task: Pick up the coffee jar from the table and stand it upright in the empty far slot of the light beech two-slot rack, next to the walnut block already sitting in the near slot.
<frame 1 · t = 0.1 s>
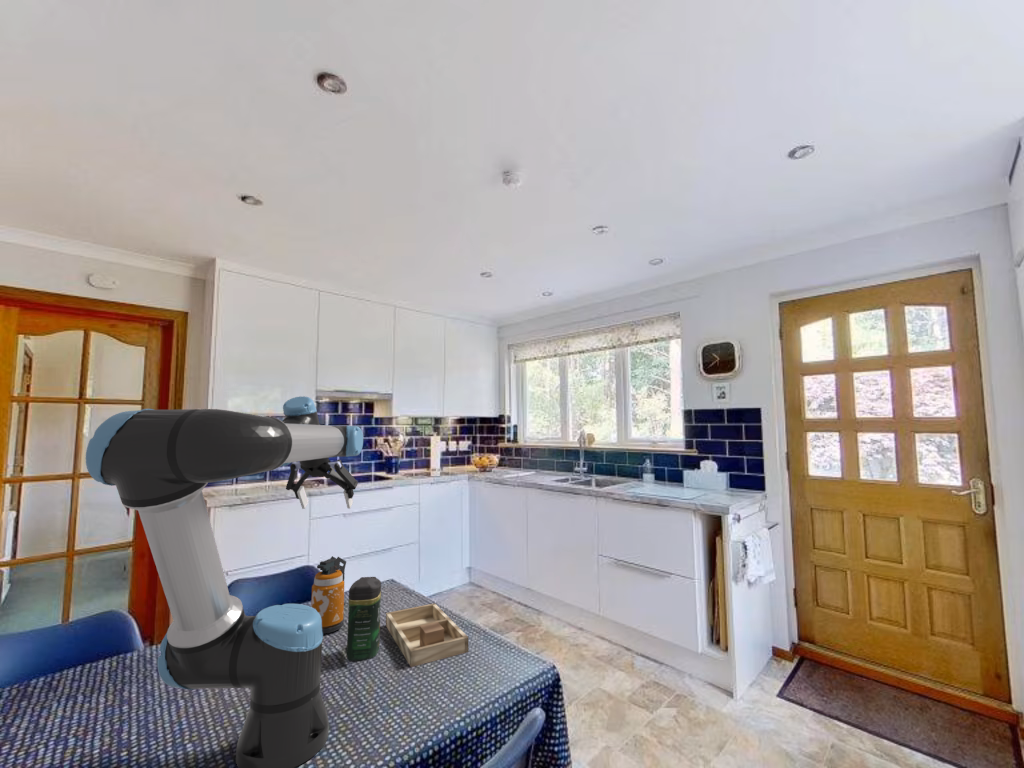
hand: (328, 505, 133), 36 cm above the table, tool tilted 35°, fingers open, 13 cm apart
canister: (329, 628, 131), on the table
slot rack: (424, 640, 122), on the table
walnut block: (431, 647, 116), point 1 cm above the table, touching slot rack
coffee jar: (363, 655, 114), on the table
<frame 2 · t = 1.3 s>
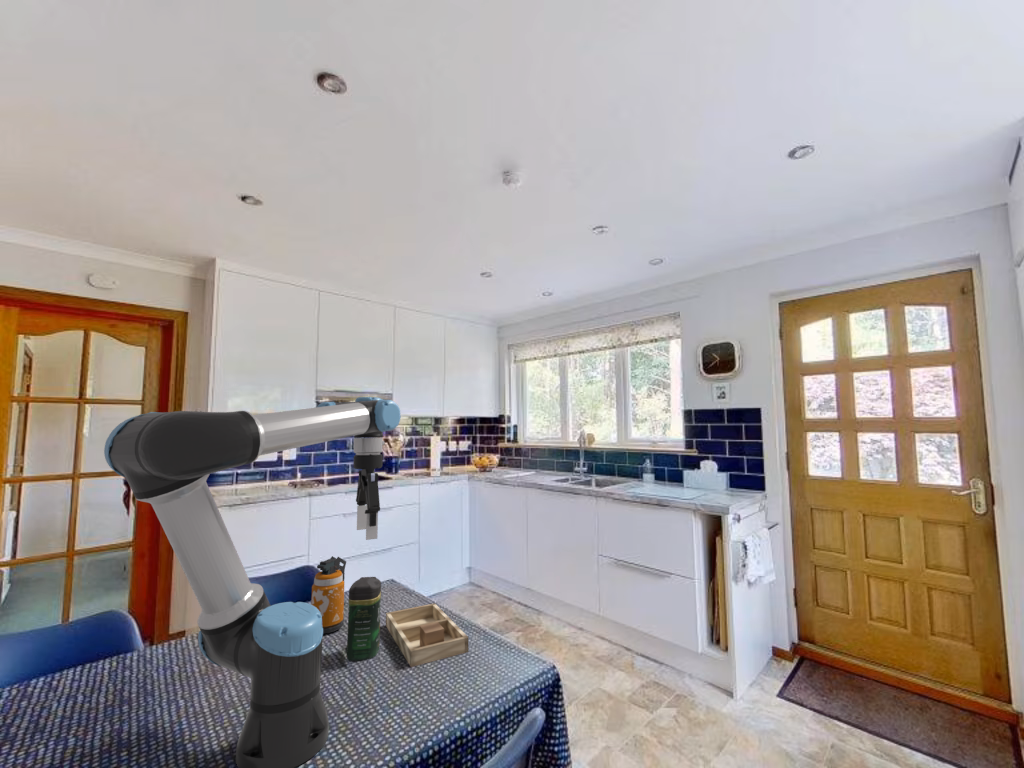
hand: (366, 534, 118), 30 cm above the table, tool pointing down, fingers open, 13 cm apart
nothing on the table moved.
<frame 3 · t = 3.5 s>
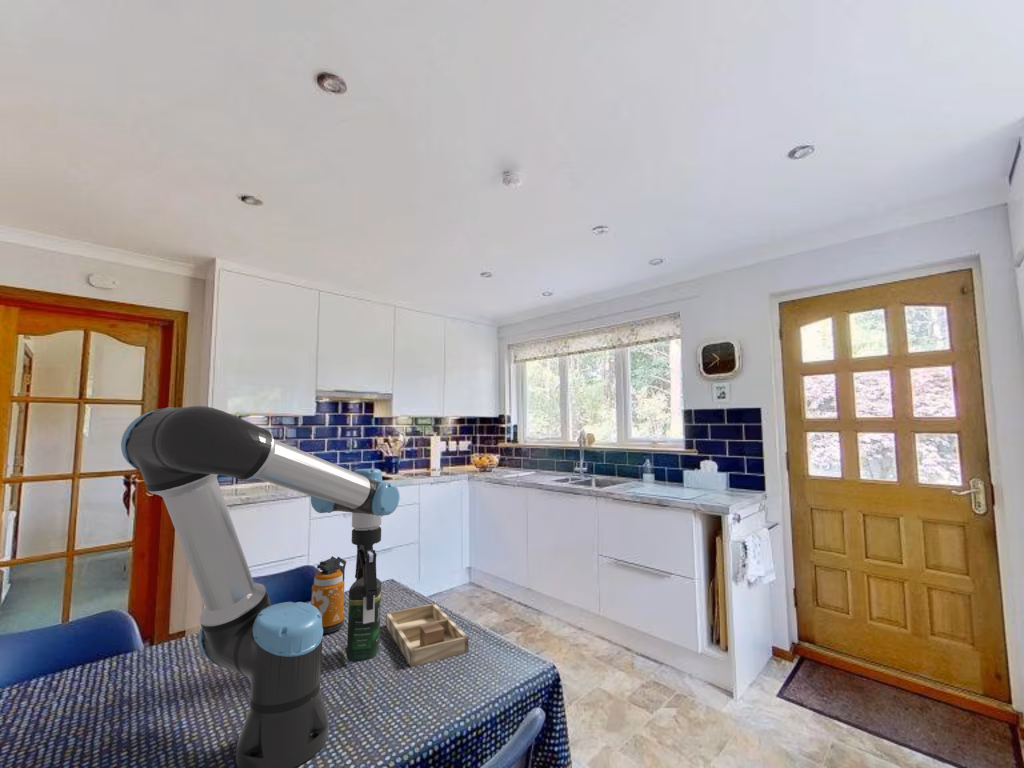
hand: (364, 614, 116), 10 cm above the table, tool pointing down, fingers closed on coffee jar, 10 cm apart
coffee jar: (363, 655, 114), on the table, touching gripper
everything else where it was.
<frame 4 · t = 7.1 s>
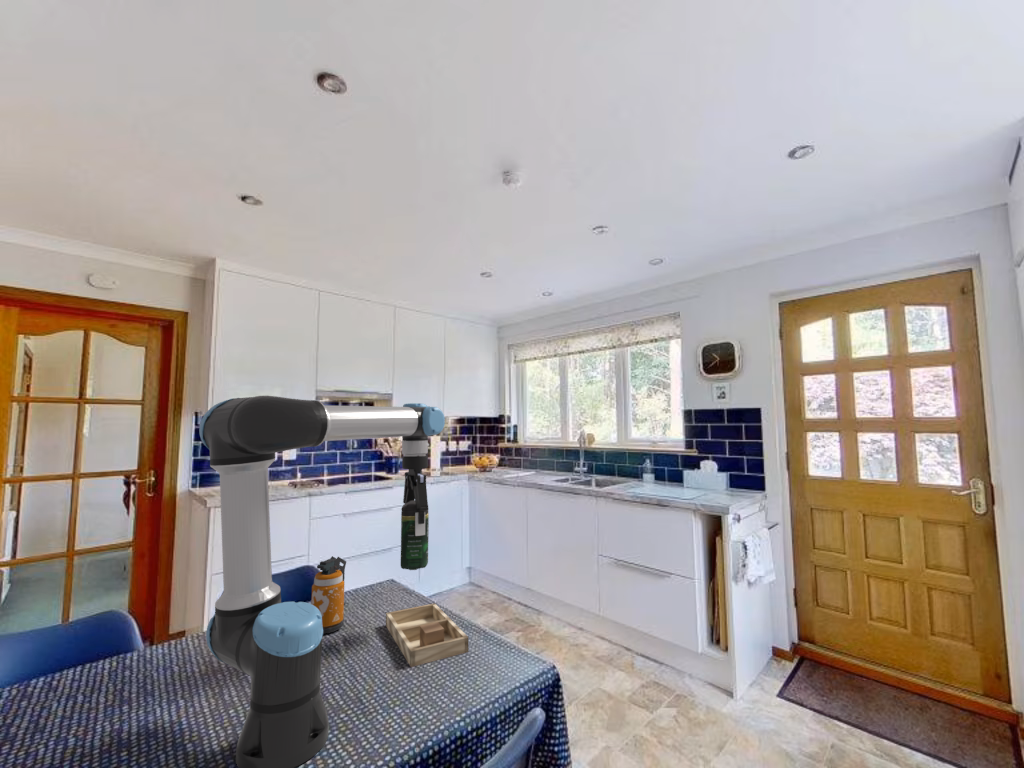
hand: (414, 531, 130), 28 cm above the table, tool pointing down, fingers closed on coffee jar, 10 cm apart
coffee jar: (414, 566, 129), point 18 cm above the table, touching gripper
everything else where it was.
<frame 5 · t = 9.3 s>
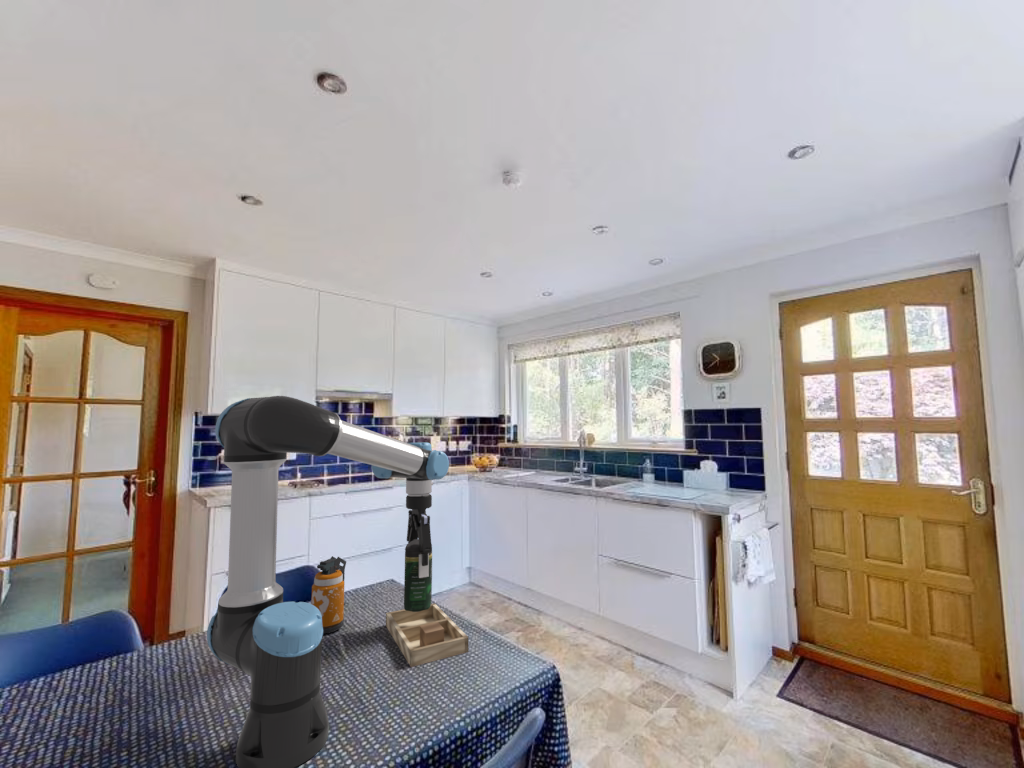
hand: (418, 571, 129), 17 cm above the table, tool pointing down, fingers closed on coffee jar, 10 cm apart
coffee jar: (418, 607, 128), point 7 cm above the table, touching gripper
everything else where it was.
when the fingers open (12 cm above the table, at t = 10.9 s): coffee jar drops 1 cm, resting on slot rack.
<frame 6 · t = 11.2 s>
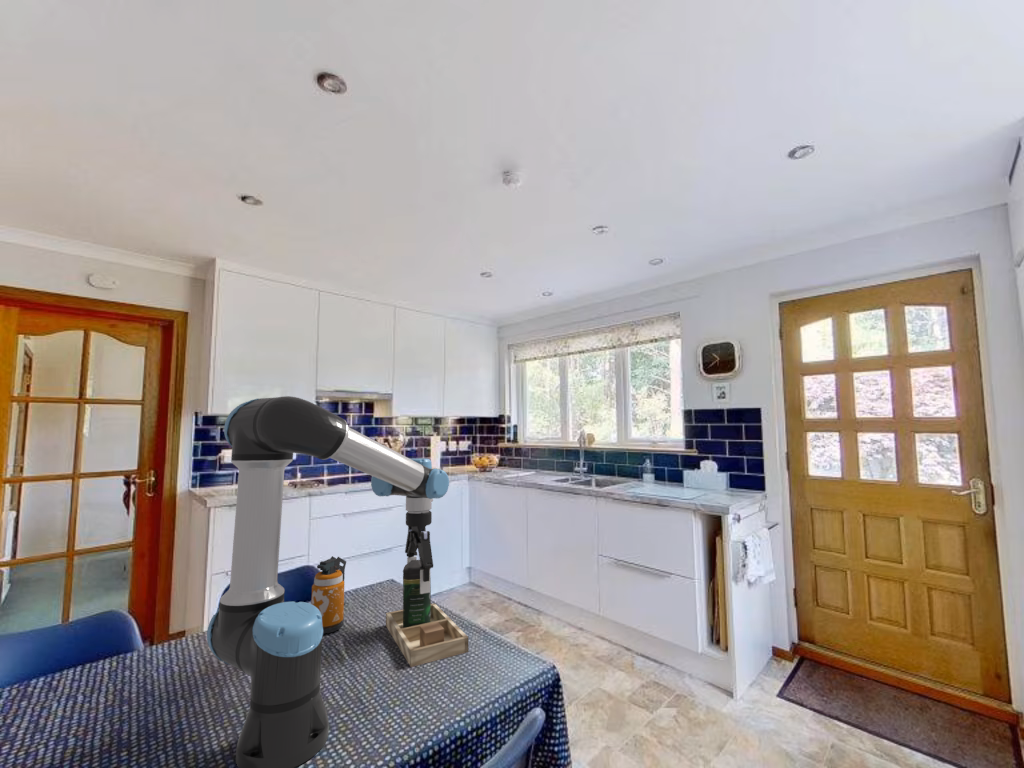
hand: (418, 585, 129), 13 cm above the table, tool pointing down, fingers open, 13 cm apart
coffee jar: (417, 629, 127), point 1 cm above the table, touching slot rack
everything else where it was.
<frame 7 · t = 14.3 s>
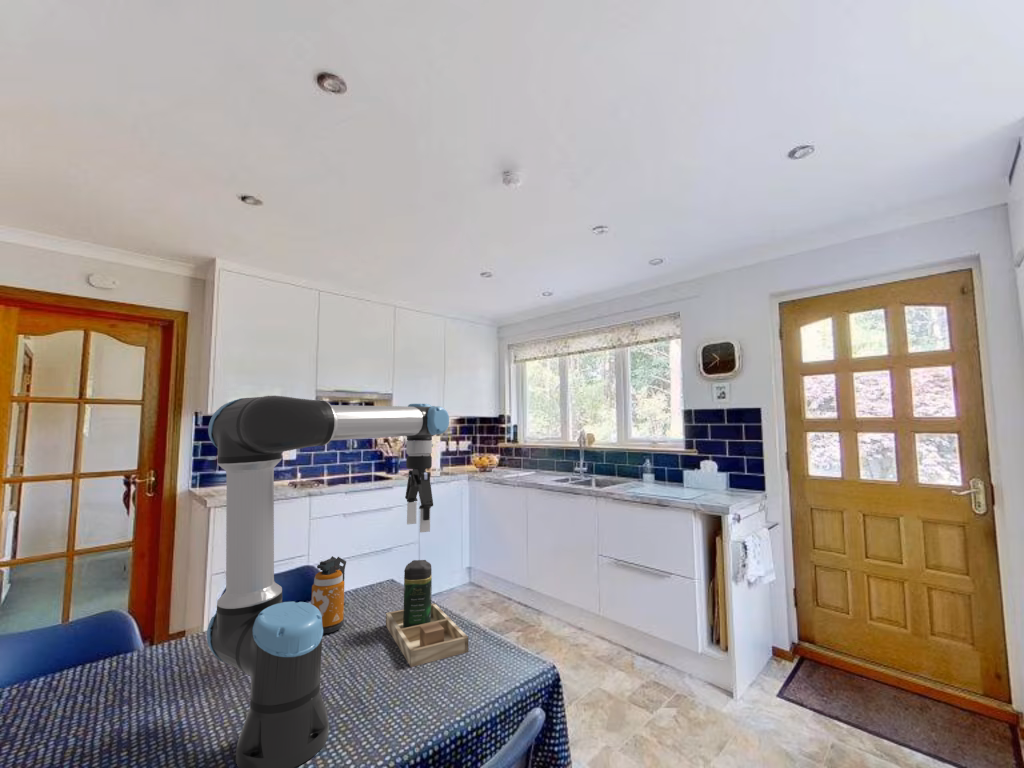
hand: (417, 527, 130), 29 cm above the table, tool pointing down, fingers open, 13 cm apart
nothing on the table moved.
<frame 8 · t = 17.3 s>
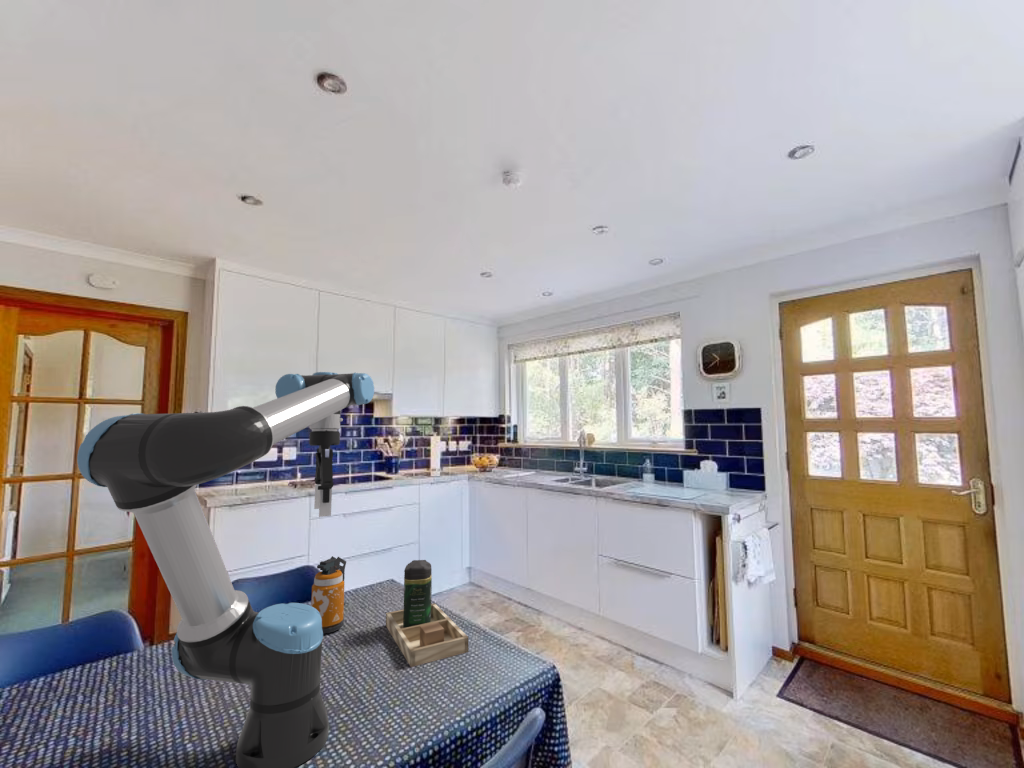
hand: (322, 512, 115), 37 cm above the table, tool pointing down, fingers open, 13 cm apart
nothing on the table moved.
at the end: coffee jar inside the target area on the slot rack (0.1 cm from its centre), point 0.6 cm above the slot rack's base; coffee jar tilted 0°; the gripper is holding nothing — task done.
